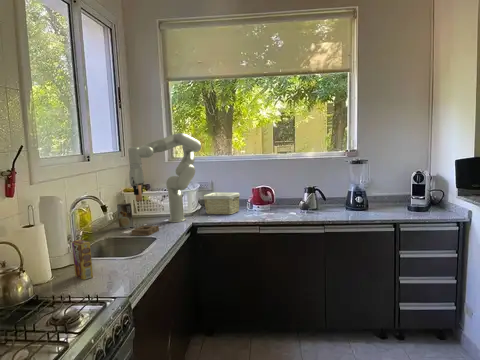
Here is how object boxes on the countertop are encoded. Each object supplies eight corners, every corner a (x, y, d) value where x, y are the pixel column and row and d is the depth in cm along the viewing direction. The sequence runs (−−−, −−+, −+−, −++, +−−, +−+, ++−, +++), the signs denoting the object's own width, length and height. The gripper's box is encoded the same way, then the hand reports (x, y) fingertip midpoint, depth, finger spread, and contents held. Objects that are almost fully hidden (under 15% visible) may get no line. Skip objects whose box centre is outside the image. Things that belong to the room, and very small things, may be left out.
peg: (138, 200, 245) (136, 185, 244) (143, 199, 244) (142, 184, 243) (134, 201, 242) (133, 185, 241) (140, 201, 240) (138, 185, 239)
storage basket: (203, 214, 281) (202, 195, 280) (215, 210, 295) (214, 191, 294) (230, 215, 270) (229, 195, 268) (241, 211, 284) (240, 192, 282)
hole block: (142, 230, 239) (142, 225, 238) (159, 230, 235) (158, 226, 235) (131, 235, 227) (131, 230, 227) (148, 235, 224) (148, 230, 223)
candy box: (94, 277, 156) (90, 241, 154) (84, 280, 153) (80, 244, 151) (84, 273, 162) (81, 238, 160) (74, 276, 159) (71, 241, 157)
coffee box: (133, 225, 255) (131, 202, 253) (133, 227, 249) (131, 204, 247) (119, 227, 252) (117, 204, 251) (119, 229, 246) (116, 205, 245)
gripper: (138, 165, 250) (140, 192, 251) (123, 167, 234) (126, 196, 236) (147, 165, 247) (150, 192, 249) (133, 167, 231) (136, 196, 233)
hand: (138, 193), depth 242 cm, fingers closed on peg, 4 cm apart
